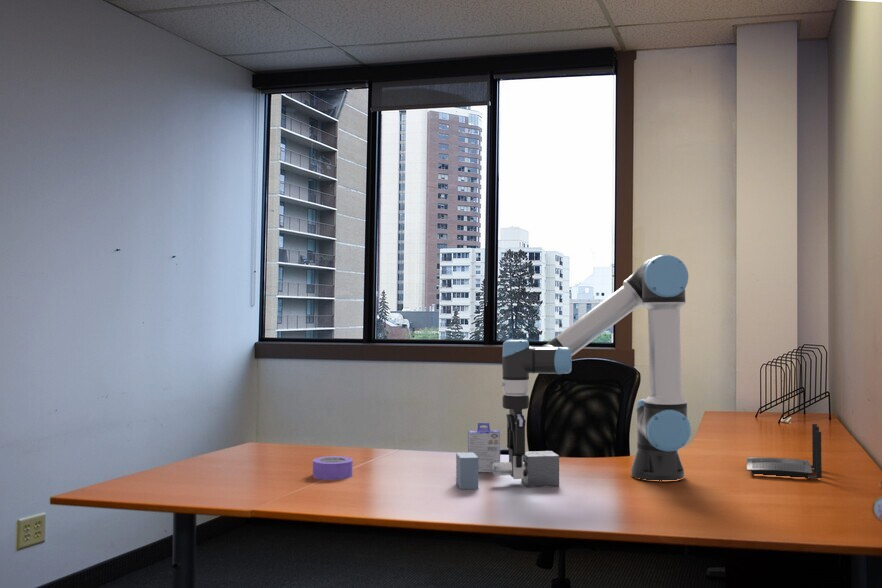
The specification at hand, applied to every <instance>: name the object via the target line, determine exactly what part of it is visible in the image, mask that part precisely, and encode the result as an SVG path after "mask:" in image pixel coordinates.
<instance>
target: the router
mask: <svg viewBox="0 0 882 588" xmlns="http://www.w3.org/2000/svg"><path fill="white" fill-rule="evenodd" d="M811 426H812V427H811V429H812V430H811V432H812V436H811V439H812V442H811V443H812V444H811V445H812V447H811V448H812V449H811V450H812V451H811V452H812V454H811V455H812V458H811V459H812V465H811V462H810V461H809V460H806V459H798V458H797V459H796V458H783V457H759V456H758V457H747V458H746V471H750V472H751V474H752V475H753V474H763V475H776V476H790V477H805V478H808V477H809V478H808V479H813V478H823V477H822V476H823V474H822V470H823V469H822V431H820V426H818V424H817V423H812V425H811ZM813 468H814V469H813ZM814 472H815V473H814ZM813 473H814V474H816V475H813Z"/></svg>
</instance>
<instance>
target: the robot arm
mask: <svg viewBox="0 0 882 588" xmlns="http://www.w3.org/2000/svg"><path fill="white" fill-rule="evenodd" d="M688 271H689V270H688V268H687V266H686V264H685V263H684V262H683V261H682V260H681V259H680V258H678V257H676V256H674V255H671V254H658V255H655V256H653V257H651V258H648V259H646V260H645V261H643V263H642V264H641V265H640V266H639V267H638V268H637V269H636V270H635V271H634V272H633V273H632V274H630V276H628V277H627V278H626V279H624V280H623V281H622V282H623V283H622V286H621V287H620V288H618V289H617V290H616V291H614V292H613V293H612V294H610V295H609V296H608V297H606V298H605V299H603V300H602V301H601V302H600V303H599V304H597V305H596V306H595V307H593V308H592V309H590V310H589V311H588V312H586V313H585V314H583V316H581V317H580V318H579V319H577V320H576V321H574V322H572V324H571V325H569V326H568V327H567V328H565V329H564V330H562V331H561V332H560V333H559V334H558V335H556V336H555V337H554V338H552V339H550V340H549V341H548V342H547V343H546V344H543V345H541V346H537V347H535V346H530V343H529V341H528V340H527V339H506V340H505V341H504V342H503V343H502V357H501V359H502V362H501V363H502V364H501V365H502V382H501V383H500V386H501V387H502V393H503V396H502V408H503V409H506V410H509V411H508V412H509V413H506V415H505V416H506V426H507V427H506V430H507V431H506V437H507V438H506V439H507V440H506V441H507V442H506V447H507V449H508V451H509V448H514V454H512V456H513V477H512V479H513V480H521V479H523V454H525V452H526V419H525V415H523V410H527V409H529V408H530V396H529V393H530V374H547V375H548V374H549V375H550V374H551V375H552V374H553V375H555V374H556V375H562V374H565V375H566V374H570V373H571V372H572V365H573V364H572V363H573V362H572V360H573V358H572V356H573V357H574V355H576V354H577V353H578V352H580V351H581V350H582V349H583V348H585V347H586V346H588V345H589V344H590V343H592V342H593V341H594V340H596V339H597V338H598V337H601V335H602V334H604V333H605V332H606V331H608V330H610V328H611V327H613V326H614V325H616V324H617V323H618V322H620V321H621V320H622V319H624V318H625V317H627V316H628V315H629V314H630V313H632V312H633V311H634V310H636V309H637V308H638V307H642V308H643V307H645V308H646V309H647V315H648V317H647V318H648V319H647V320H648V321H647V322H648V323H647V324H648V325H647V328H648V334H647V335H648V379H649V380H648V383H649V384H648V387H649V388H648V389H649V391H648V393H649V394H648V396H647V397H646V398H642V399H641V398H640V399H639V400H638V401H637V402H636V403H637V404H636V409H635V411H636V453H635V456H634V459H633V462H632V465H631V469H630V476H631V475H632V476H633V477H636V478H640V479H646V480H659V481H660V480H661V481H662V480H677V479H681V478H683V477H684V478H685V469H684V466H683V464H682V461H681V458H680V454H679V450H680V449H682V448H683V447H685V445H687V443H688V442H689V440H690V437H691V434H692V427H691V423H690V420H689V419H688V400H686V399H685V397H684V396H682V373H681V372H682V367H681V366H682V365H681V364H682V360H681V308H682V307H683V306H684V305H685V304H686V287H687V286H688V283H689V272H688ZM632 476H631V477H632ZM633 477H632V478H633ZM636 478H635V479H636Z"/></svg>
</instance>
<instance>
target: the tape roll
mask: <svg viewBox="0 0 882 588" xmlns="http://www.w3.org/2000/svg"><path fill="white" fill-rule="evenodd" d="M353 466H354V465H353V458H352V457H348V456H342V455H341V456H340V455H336V456H335V455H331V456H329V455H326V456H320V457H316V458H314V459H312V477H313V479H317V480H322V481H323V480H324V481H338V480H345V479H350V478H352V477H353V469H354V468H353Z"/></svg>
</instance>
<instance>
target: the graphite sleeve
mask: <svg viewBox="0 0 882 588" xmlns="http://www.w3.org/2000/svg"><path fill="white" fill-rule="evenodd" d="M523 462H526V475H523V479H520V480H521V483H522V484H524V485H525V486H526V488H547V487H551V488H552V487H560V455H559V454H557V453H556V452H554V451H553V450H540V451H539V450H538V451H536V450H535V451H532V450H531V451H525V454H523Z"/></svg>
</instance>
